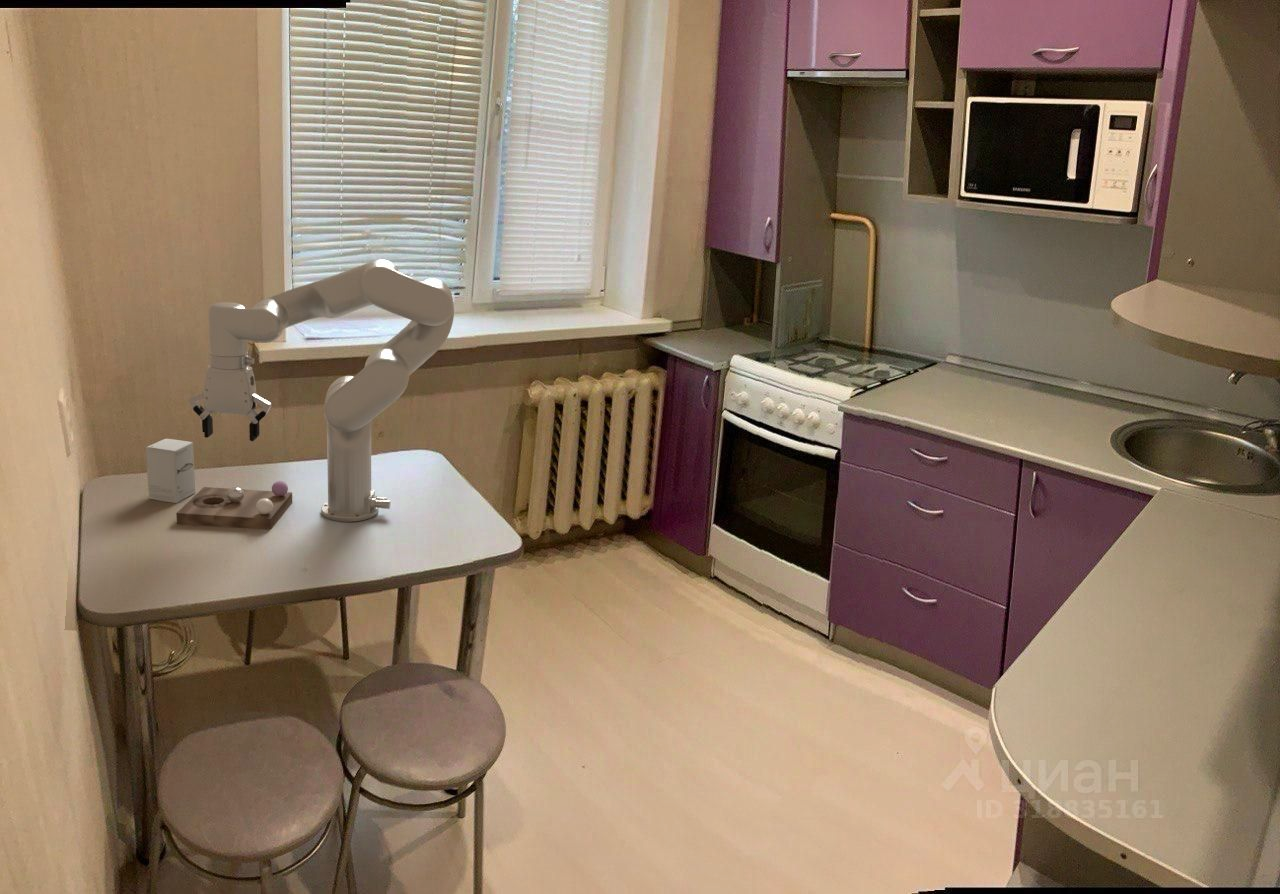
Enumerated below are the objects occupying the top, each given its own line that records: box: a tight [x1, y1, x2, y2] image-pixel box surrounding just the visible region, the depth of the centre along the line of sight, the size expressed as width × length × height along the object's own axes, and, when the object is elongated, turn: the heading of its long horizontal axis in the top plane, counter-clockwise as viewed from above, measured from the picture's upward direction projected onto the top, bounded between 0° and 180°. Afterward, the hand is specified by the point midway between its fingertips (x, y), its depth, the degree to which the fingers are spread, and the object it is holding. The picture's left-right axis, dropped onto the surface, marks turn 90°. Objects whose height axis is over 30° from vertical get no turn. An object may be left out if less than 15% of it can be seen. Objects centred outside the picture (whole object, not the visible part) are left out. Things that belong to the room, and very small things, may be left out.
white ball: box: [256, 498, 273, 514], centre depth 226 cm, size 4×4×4 cm
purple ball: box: [271, 480, 289, 496], centre depth 236 cm, size 4×4×4 cm
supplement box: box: [145, 438, 196, 504], centre depth 236 cm, size 7×7×13 cm
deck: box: [176, 486, 293, 530], centre depth 232 cm, size 20×16×2 cm
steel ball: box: [227, 486, 244, 503], centre depth 231 cm, size 4×4×4 cm
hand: (231, 437), depth 226 cm, fingers open, 9 cm apart
